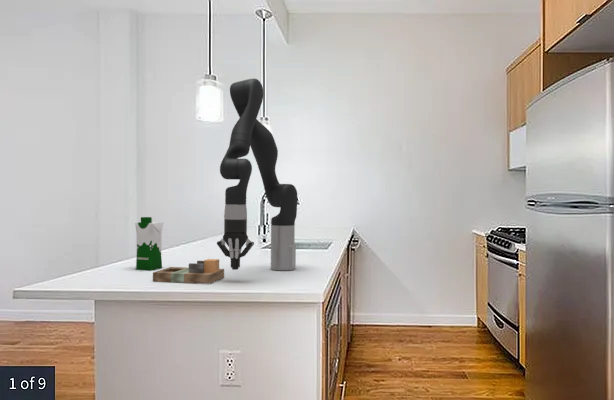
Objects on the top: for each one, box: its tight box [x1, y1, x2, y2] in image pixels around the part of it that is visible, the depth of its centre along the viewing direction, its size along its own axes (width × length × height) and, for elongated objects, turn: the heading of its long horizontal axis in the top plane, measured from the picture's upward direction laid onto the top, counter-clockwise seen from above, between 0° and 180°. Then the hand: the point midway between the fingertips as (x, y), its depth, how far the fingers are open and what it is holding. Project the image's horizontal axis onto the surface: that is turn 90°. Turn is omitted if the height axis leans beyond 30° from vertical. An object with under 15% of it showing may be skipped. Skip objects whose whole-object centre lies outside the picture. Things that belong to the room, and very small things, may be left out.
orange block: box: [203, 258, 220, 273], centre depth 189 cm, size 4×4×4 cm
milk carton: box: [134, 216, 164, 271], centre depth 215 cm, size 9×9×20 cm
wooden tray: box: [152, 260, 225, 284], centre depth 191 cm, size 20×14×6 cm
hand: (235, 269), depth 188 cm, fingers closed
